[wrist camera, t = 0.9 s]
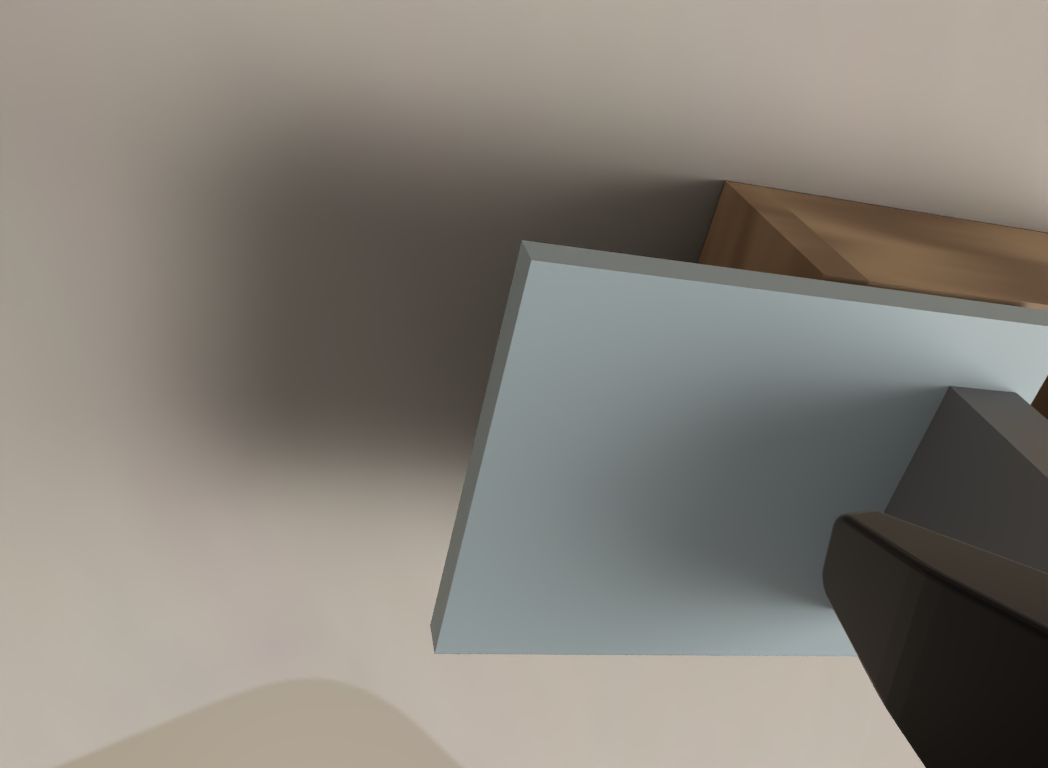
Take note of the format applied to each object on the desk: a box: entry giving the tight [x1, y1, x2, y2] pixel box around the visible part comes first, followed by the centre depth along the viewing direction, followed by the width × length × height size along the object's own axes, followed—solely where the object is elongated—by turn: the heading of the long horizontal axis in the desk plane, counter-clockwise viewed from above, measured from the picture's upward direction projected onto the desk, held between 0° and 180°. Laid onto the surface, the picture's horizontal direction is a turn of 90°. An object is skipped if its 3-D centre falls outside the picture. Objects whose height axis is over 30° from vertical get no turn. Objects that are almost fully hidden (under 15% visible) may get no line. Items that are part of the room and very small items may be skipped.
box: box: [697, 181, 1048, 420], centre depth 24 cm, size 11×9×5 cm
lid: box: [430, 240, 1048, 656], centre depth 16 cm, size 11×9×8 cm
